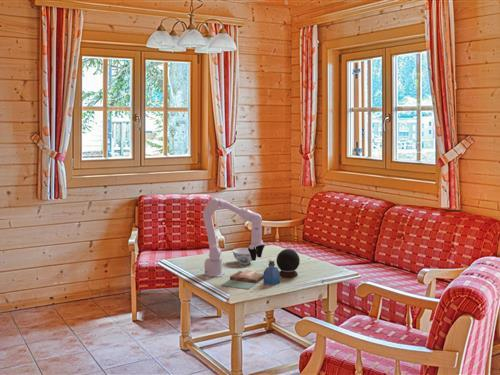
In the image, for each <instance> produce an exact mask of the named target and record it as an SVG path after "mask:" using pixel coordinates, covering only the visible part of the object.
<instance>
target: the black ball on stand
mask: <svg viewBox="0 0 500 375" xmlns="http://www.w3.org/2000/svg"><path fill="white" fill-rule="evenodd" d="M275 261H276V266H277V268H278V270H279V272H280V278H282V279H283V278H285V279H292V278H293V277H294V278H296V276H297V277H298V275H299V274H298V272H297V271H296V270H297V269H298V268H299V265H300V263H301V261H300V256H299V254H298V253H297V251H295V250H293V249H290V248H285V249H282V250H281V251H280V252H279V253H278V254H277V256H276V259H275ZM294 278H293V279H294Z"/></svg>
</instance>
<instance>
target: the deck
mask: <svg viewBox="0 0 500 375" xmlns="http://www.w3.org/2000/svg"><path fill="white" fill-rule="evenodd" d="M242 272H244V271H243V270H239V271H236V272H235V273H233V274H232V275H230V277H229V280H236V281H244V282H251V283H256V285H257V284H258V283H260V282H261V281H263V278H264V273H258V272H256V274H255V275H253V276H252V277H250V278H244V277H239V274H241V273H242Z"/></svg>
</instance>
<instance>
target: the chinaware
mask: <svg viewBox="0 0 500 375" xmlns="http://www.w3.org/2000/svg"><path fill="white" fill-rule="evenodd" d="M248 248H249V247H238V248H234V249H233V250H232V254H233V257H234V259H235V260H236V261H238V262H239V264H241V265H249V264H251V262H252V259H251V255H250V252H249V250H248Z"/></svg>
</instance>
